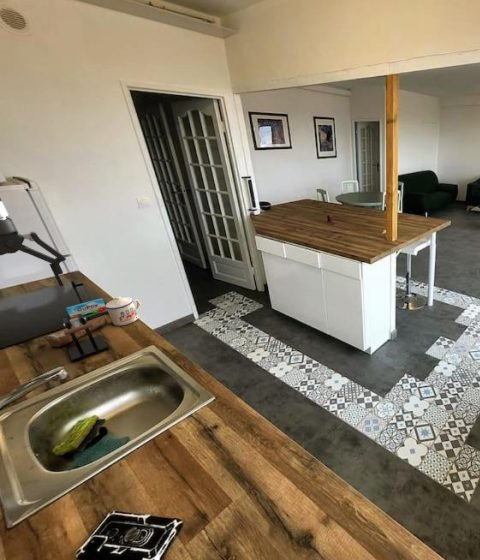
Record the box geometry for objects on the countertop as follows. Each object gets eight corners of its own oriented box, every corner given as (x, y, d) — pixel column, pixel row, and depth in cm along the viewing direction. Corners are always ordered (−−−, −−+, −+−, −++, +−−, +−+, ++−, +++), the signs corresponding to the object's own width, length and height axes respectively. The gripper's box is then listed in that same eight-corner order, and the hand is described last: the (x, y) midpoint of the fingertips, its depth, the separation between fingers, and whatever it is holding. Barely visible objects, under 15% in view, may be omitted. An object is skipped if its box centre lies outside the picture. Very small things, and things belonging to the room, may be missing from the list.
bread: (48, 347, 117) (41, 335, 115) (103, 321, 134) (98, 310, 131) (59, 350, 115) (52, 338, 113) (113, 324, 132) (108, 313, 130)
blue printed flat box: (107, 309, 143) (102, 298, 140) (107, 310, 142) (102, 299, 139) (71, 320, 134) (65, 307, 132) (72, 321, 133) (66, 309, 131)
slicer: (109, 349, 117) (94, 318, 111) (73, 362, 110) (56, 330, 104) (101, 337, 124) (87, 307, 118) (67, 348, 117) (51, 317, 111)
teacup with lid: (123, 327, 130) (112, 303, 125) (107, 324, 132) (96, 300, 127) (150, 313, 140) (142, 291, 135) (135, 310, 142) (127, 288, 137)
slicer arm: (94, 328, 107) (91, 321, 106) (66, 337, 102) (62, 330, 101) (88, 320, 115) (86, 314, 115) (63, 328, 111) (59, 322, 110)
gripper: (-99, 232, 68) (-43, 314, 77) (58, 213, 86) (88, 282, 95) (-94, 226, 73) (-42, 304, 82) (54, 209, 90) (83, 275, 99)
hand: (28, 292), depth 88 cm, fingers open, 13 cm apart
